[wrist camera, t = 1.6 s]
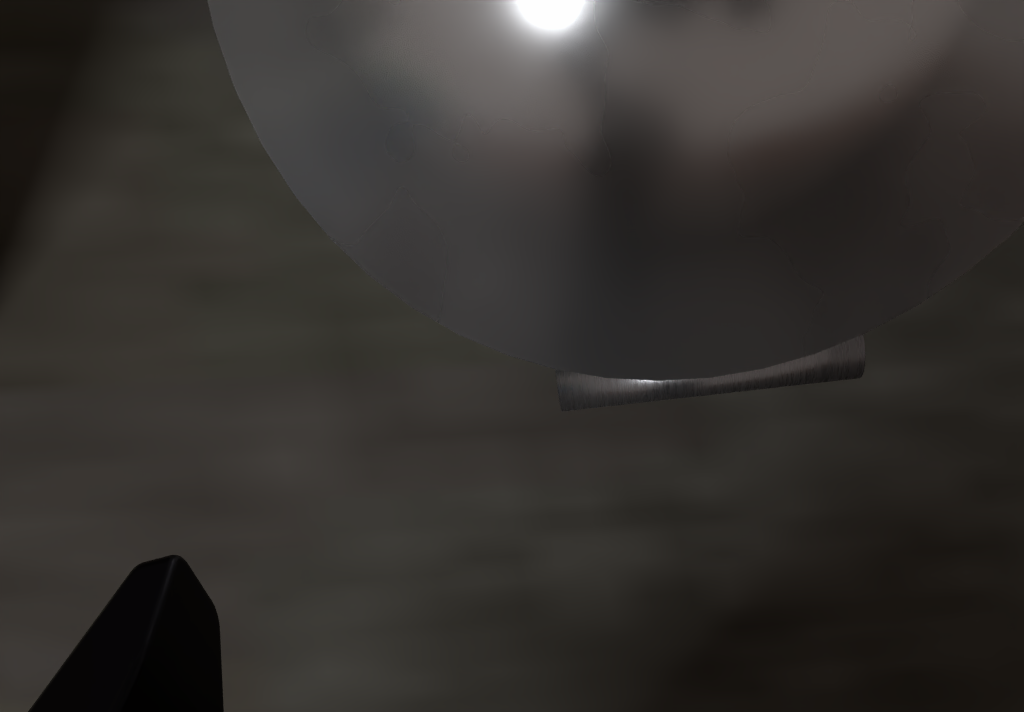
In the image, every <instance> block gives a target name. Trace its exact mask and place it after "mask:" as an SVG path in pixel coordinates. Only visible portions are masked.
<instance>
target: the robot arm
mask: <svg viewBox="0 0 1024 712" xmlns="http://www.w3.org/2000/svg"><path fill="white" fill-rule="evenodd" d="M28 712H224V708H223V687H222V665H221V644H220V626H219V619H218V615H217V611H216V609H215V606H214V604H213V602H212V600H211V599H210V597H209V596H208V594H207V593H206V591H205V590H204V588H203V586H202V585H201V583H200V582H199V580H198V579H197V577H196V576H195V574H194V572H193V571H192V569H191V568H190V566H189V565H188V563H187V562H186V561H185V560H184V559H183V558H182V557H181V556H178V555H170V556H166V557H162V558H158V559H154V560H151V561H147V562H143V563H141V564H139V565H137V566H136V567H135V568H134V569H133V570H132V571H131V572H130V574H129V575H128V576H127V578H126V579H125V580H124V582H123V583H122V584H121V586H120V587H119V589H118V590H117V591H116V593H115V594H114V595H113V597H112V598H111V599H110V601H109V602H108V604H107V605H106V606H105V608H104V609H103V610H102V612H101V613H100V614H99V616H98V617H97V619H96V620H95V621H94V623H93V624H92V625H91V627H90V628H89V629H88V631H87V632H86V634H85V635H84V636H83V638H82V639H81V640H80V642H79V643H78V644H77V646H76V647H75V649H74V650H73V651H72V653H71V654H70V655H69V657H68V658H67V659H66V661H65V662H64V664H63V665H62V666H61V668H60V669H59V670H58V672H57V673H56V674H55V676H54V677H53V679H52V680H51V681H50V683H49V684H48V685H47V687H46V688H45V689H44V691H43V692H42V694H41V695H40V696H39V698H38V699H37V700H36V702H35V703H34V704H33V706H32V707H31V709H30V710H29V711H28Z"/></svg>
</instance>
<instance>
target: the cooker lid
mask: <svg viewBox="0 0 1024 712" xmlns="http://www.w3.org/2000/svg"><path fill="white" fill-rule="evenodd" d="M208 5H209V9H210V14H211V19H212V23H213V28H214V31H215V34H216V36H217V39H218V42H219V45H220V48H221V51H222V54H223V56H224V59H225V62H226V65H227V68H228V71H229V74H230V77H231V79H232V82H233V85H234V88H235V90H236V92H237V95H238V97H239V99H240V101H241V103H242V105H243V107H244V109H245V111H246V113H247V115H248V117H249V119H250V121H251V123H252V125H253V127H254V129H255V131H256V134H257V136H258V138H259V140H260V142H261V144H262V146H263V147H264V149H265V150H266V152H267V153H268V155H269V156H270V158H271V160H272V161H273V163H274V164H275V166H276V167H277V169H278V170H279V172H280V173H281V175H282V177H283V178H284V180H285V181H286V183H287V184H288V186H289V187H290V189H291V191H292V192H293V194H294V195H295V196H296V197H297V199H298V200H299V201H300V202H301V203H302V205H303V206H304V207H305V208H306V210H307V211H308V212H309V213H310V214H311V216H312V217H313V218H314V219H315V220H316V222H317V223H318V224H319V225H320V226H321V228H322V229H323V230H324V231H325V233H326V234H327V235H328V236H329V237H330V238H331V239H332V240H333V241H334V242H335V243H336V244H337V245H338V246H339V247H340V248H341V249H342V250H343V251H344V252H345V253H346V254H347V255H348V256H349V257H350V258H352V259H353V260H354V261H355V262H356V263H357V264H358V265H359V266H360V267H361V268H362V269H363V270H364V271H365V272H366V273H367V274H368V275H369V276H371V277H372V278H373V279H375V280H376V281H377V282H379V283H380V284H381V285H383V286H384V287H385V288H387V289H388V290H389V291H391V292H392V293H393V294H395V295H396V296H397V297H399V298H400V299H401V300H403V301H404V302H405V303H407V304H408V305H409V306H411V307H412V308H413V309H415V310H417V311H419V312H420V313H422V314H424V315H426V316H427V317H429V318H431V319H433V320H434V321H436V322H438V323H440V324H441V325H443V326H445V327H447V328H448V329H450V330H452V331H454V332H455V333H457V334H459V335H461V336H463V337H466V338H468V339H470V340H473V341H475V342H477V343H480V344H482V345H485V346H487V347H489V348H492V349H494V350H496V351H499V352H501V353H503V354H506V355H509V356H512V357H515V358H519V359H522V360H526V361H529V362H532V363H536V364H539V365H543V366H546V367H550V368H553V369H556V378H557V386H558V394H559V400H560V406H561V411H570V410H579V409H588V408H597V407H606V406H615V405H624V404H633V403H642V402H651V401H660V400H669V399H678V398H687V397H696V396H705V395H714V394H722V393H731V392H740V391H749V390H758V389H767V388H776V387H785V386H794V385H803V384H812V383H821V382H830V381H839V380H848V379H857V378H861V376H862V375H863V372H864V367H865V345H864V337H863V334H865V333H867V332H869V331H871V330H873V329H875V328H877V327H879V326H880V325H882V324H884V323H886V322H888V321H890V320H892V319H894V318H896V317H897V316H899V315H901V314H903V313H905V312H907V311H909V310H911V309H912V308H914V307H916V306H918V305H919V304H921V303H922V302H924V301H925V300H927V299H928V298H930V297H931V296H932V295H934V294H935V293H937V292H938V291H940V290H941V289H943V288H944V287H946V286H947V285H949V284H950V283H952V282H953V281H955V280H956V279H958V278H959V277H961V276H962V275H964V274H965V273H966V272H967V271H969V270H970V269H971V268H972V267H973V266H975V265H976V264H977V263H978V262H979V261H981V260H982V259H983V258H984V257H985V256H987V255H988V254H989V253H990V252H991V251H993V250H994V249H995V248H996V247H997V246H999V245H1000V244H1001V243H1002V242H1003V241H1005V240H1006V239H1007V238H1008V237H1009V236H1011V235H1012V234H1013V233H1014V232H1015V231H1016V230H1017V229H1018V228H1019V227H1020V226H1021V225H1022V223H1023V222H1024V0H208Z"/></svg>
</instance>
